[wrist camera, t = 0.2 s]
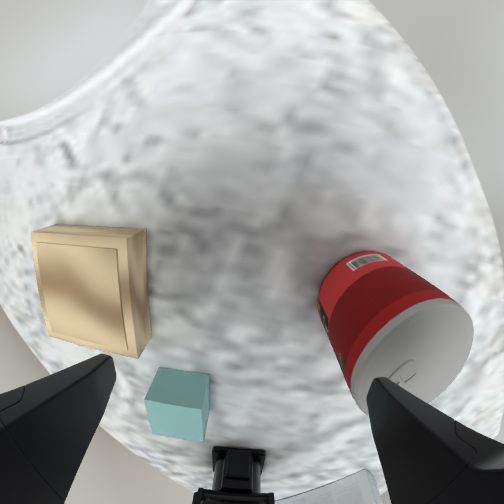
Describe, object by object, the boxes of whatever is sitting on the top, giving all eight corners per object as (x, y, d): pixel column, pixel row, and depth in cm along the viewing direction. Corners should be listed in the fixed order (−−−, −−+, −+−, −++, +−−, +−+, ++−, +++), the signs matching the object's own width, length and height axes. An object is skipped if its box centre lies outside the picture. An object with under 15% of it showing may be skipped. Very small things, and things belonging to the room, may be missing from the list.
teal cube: (209, 407, 26) (203, 442, 21) (164, 400, 26) (152, 433, 21) (209, 373, 25) (201, 409, 20) (159, 366, 25) (144, 399, 20)
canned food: (297, 307, 23) (323, 399, 12) (356, 229, 21) (432, 272, 11) (360, 345, 24) (404, 430, 13) (414, 278, 22) (490, 337, 12)
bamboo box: (153, 334, 24) (137, 360, 20) (69, 318, 24) (48, 337, 20) (147, 228, 22) (125, 238, 18) (57, 223, 22) (29, 232, 18)
